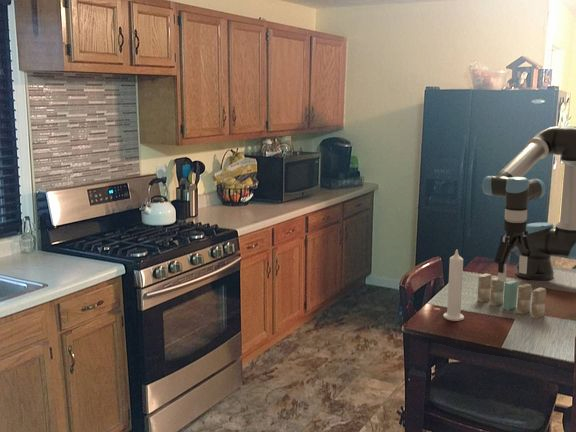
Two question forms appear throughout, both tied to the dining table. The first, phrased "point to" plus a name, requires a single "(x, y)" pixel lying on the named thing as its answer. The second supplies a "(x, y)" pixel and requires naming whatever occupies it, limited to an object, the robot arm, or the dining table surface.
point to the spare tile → (510, 295)
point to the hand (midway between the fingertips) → (512, 276)
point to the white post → (455, 288)
